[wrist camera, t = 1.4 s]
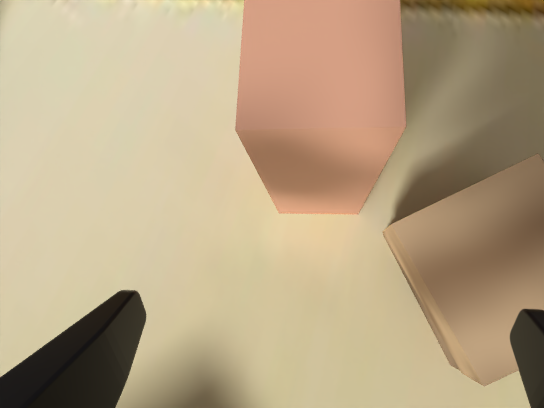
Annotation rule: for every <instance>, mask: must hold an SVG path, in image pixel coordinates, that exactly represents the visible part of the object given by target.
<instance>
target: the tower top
mask: <svg viewBox="0 0 544 408" xmlns="http://www.w3.org/2000/svg"><path fill="white" fill-rule="evenodd" d="M383 234H384V236H385V238H386V239H387V241H388V243H389V245H390V246H391V248H392V250H393V252H394V254H395V255H396V257H397V259H398V261H399V262H400V264H401V266H402V268H403V270H404V271H405V273H406V275H407V277H408V278H409V280H410V282H411V284H412V286H413V287H414V289H415V291H416V293H417V294H418V296H419V298H420V300H421V302H422V303H423V305H424V307H425V309H426V310H427V312H428V314H429V316H430V318H431V319H432V321H433V323H434V325H435V326H436V328H437V330H438V332H439V334H440V335H441V337H442V339H443V341H444V342H445V344H446V346H447V348H448V350H449V351H450V353H451V355H452V357H453V358H454V360H455V362H456V364H457V366H458V367H459V369H460V371H461V373H463V374H464V375H466V376H468V377H469V378H471V379H473V380H474V381H476V382H478V383H479V384H481V385H483V386H486V385H488V384H490V383H492V382H495V381H497V380H499V379H501V378H503V377H505V376H507V375H509V374H511V373H514V372H516V371H518V370H519V369H518V366H517V363H516V359H515V356H514V353H513V350H512V347H511V343H510V332H511V329H512V327H513V325H514V322H515V320H516V318H517V316H518V314H519V312H520V311H521V310H522V309H541V310H544V161H543V159H542V158H541V157H540V155H539V154H536V155H534V156H531V157H529V158H527V159H525V160H523V161H521V162H519V163H517V164H515V165H513V166H511V167H509V168H507V169H505V170H502V171H500V172H498V173H496V174H494V175H492V176H490V177H488V178H486V179H484V180H482V181H480V182H478V183H475V184H473V185H471V186H469V187H467V188H465V189H463V190H461V191H459V192H457V193H455V194H453V195H451V196H449V197H446V198H444V199H442V200H440V201H438V202H436V203H434V204H432V205H430V206H428V207H426V208H424V209H422V210H419V211H417V212H415V213H413V214H411V215H409V216H407V217H405V218H403V219H401V220H399V221H397V222H395V223H393V224H391V225H390V226H388V227H387V228H386V229H385V230H384V231H383Z"/></svg>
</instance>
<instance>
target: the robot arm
mask: <svg viewBox="0 0 544 408" xmlns="http://www.w3.org/2000/svg"><path fill="white" fill-rule="evenodd" d="M145 322H146V311H145V308H144V305H143V303H142V300H141V297H140V294H139V293H138V292H137V291H135V290H121V291H119V292H117V293H116V294H115V295H113V296H112V297H111V298H109V299H108V300H106V301H105V302H104V303H102V304H101V305H99V306H98V307H97V308H95V309H94V310H93V311H91V312H90V313H88V314H87V315H86V316H84V317H83V318H82V319H80V320H79V321H77V322H76V323H75V324H73V325H72V326H71V327H69V328H68V329H66V330H65V331H64V332H62V333H61V334H59V335H58V336H57V337H55V338H54V339H53V340H51V341H50V342H48V343H47V344H46V345H44V346H43V347H42V348H40V349H39V350H37V351H36V352H35V353H33V354H32V355H30V356H29V357H28V358H26V359H25V360H24V361H22V362H21V363H19V364H18V365H17V366H15V367H14V368H13V369H11V370H10V371H8V372H7V373H6V374H4V375H3V376H1V377H0V408H115V407H116V405H117V402H118V400H119V398H120V395H121V393H122V391H123V388H124V386H125V383H126V381H127V378H128V375H129V372H130V370H131V366H132V363H133V360H134V357H135V354H136V350H137V347H138V344H139V341H140V338H141V335H142V331H143V328H144V325H145ZM510 343H511V347H512V350H513V353H514V356H515V359H516V363H517V366H518V369H519V372H520V375H521V378H522V381H523V385H524V388H525V391H526V394H527V397H528V400H529V403H530V406H531V408H544V310H541V309H522V310H521V311H520V312H519V314H518V316H517V318H516V320H515V322H514V325H513V327H512V329H511V332H510Z"/></svg>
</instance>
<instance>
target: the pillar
mask: <svg viewBox="0 0 544 408" xmlns="http://www.w3.org/2000/svg"><path fill="white" fill-rule="evenodd" d="M405 128H406V113H405V93H404V72H403V52H402V32H401V12H400V0H244V13H243V27H242V42H241V56H240V70H239V85H238V99H237V114H236V128H235V130H236V132H237V134H238V136H239V138H240V140H241V142H242V143H243V145H244V147H245V149H246V151H247V153H248V155H249V157H250V159H251V161H252V163H253V164H254V166H255V168H256V170H257V172H258V174H259V176H260V178H261V180H262V182H263V183H264V185H265V187H266V189H267V191H268V193H269V195H270V197H271V199H272V201H273V202H274V204H275V206H276V208H277V210H278V212H279V213H300V214H358V213H359V212H360V210H361V208H362V206H363V204H364V202H365V201H366V199H367V197H368V195H369V193H370V192H371V190H372V188H373V186H374V184H375V183H376V181H377V179H378V177H379V175H380V173H381V172H382V170H383V168H384V166H385V164H386V163H387V161H388V159H389V157H390V155H391V154H392V152H393V150H394V148H395V146H396V144H397V143H398V141H399V139H400V137H401V135H402V134H403V132H404V130H405Z"/></svg>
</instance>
